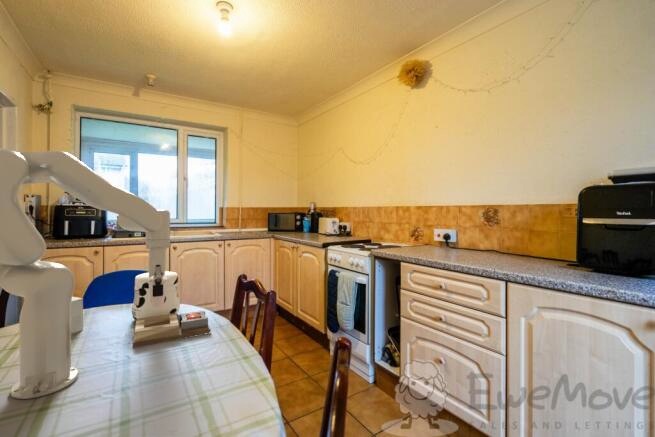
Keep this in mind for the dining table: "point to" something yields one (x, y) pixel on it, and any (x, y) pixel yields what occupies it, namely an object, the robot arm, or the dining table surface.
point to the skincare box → (76, 314)
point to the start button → (193, 316)
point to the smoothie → (157, 300)
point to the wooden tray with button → (168, 328)
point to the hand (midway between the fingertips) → (157, 293)
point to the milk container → (143, 299)
